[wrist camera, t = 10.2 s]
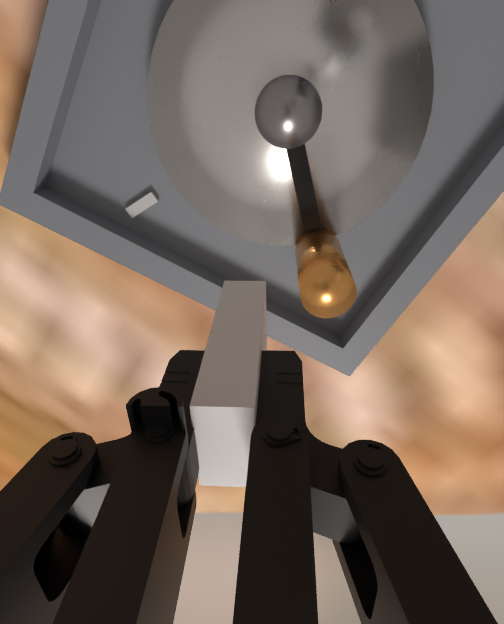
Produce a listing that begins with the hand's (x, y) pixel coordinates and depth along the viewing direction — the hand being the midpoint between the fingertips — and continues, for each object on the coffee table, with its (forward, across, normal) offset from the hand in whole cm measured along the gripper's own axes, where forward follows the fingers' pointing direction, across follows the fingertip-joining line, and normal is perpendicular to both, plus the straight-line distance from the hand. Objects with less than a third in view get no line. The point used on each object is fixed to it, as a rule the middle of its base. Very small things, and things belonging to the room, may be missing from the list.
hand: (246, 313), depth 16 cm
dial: (+9, +2, +6) cm, 11 cm away
